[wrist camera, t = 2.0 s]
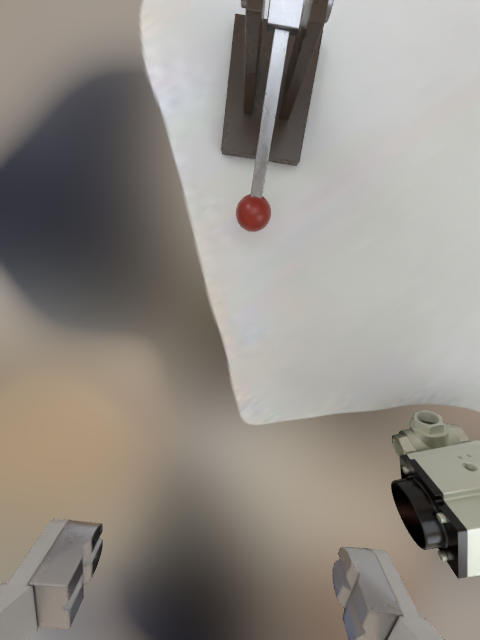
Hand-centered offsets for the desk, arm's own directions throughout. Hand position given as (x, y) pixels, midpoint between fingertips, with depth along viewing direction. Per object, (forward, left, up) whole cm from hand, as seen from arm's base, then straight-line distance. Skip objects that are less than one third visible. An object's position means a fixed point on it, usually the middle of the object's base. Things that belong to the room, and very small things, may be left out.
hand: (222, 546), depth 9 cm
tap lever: (+3, -20, -21) cm, 29 cm away
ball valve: (-34, +8, -28) cm, 45 cm away
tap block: (+4, -26, -28) cm, 38 cm away
